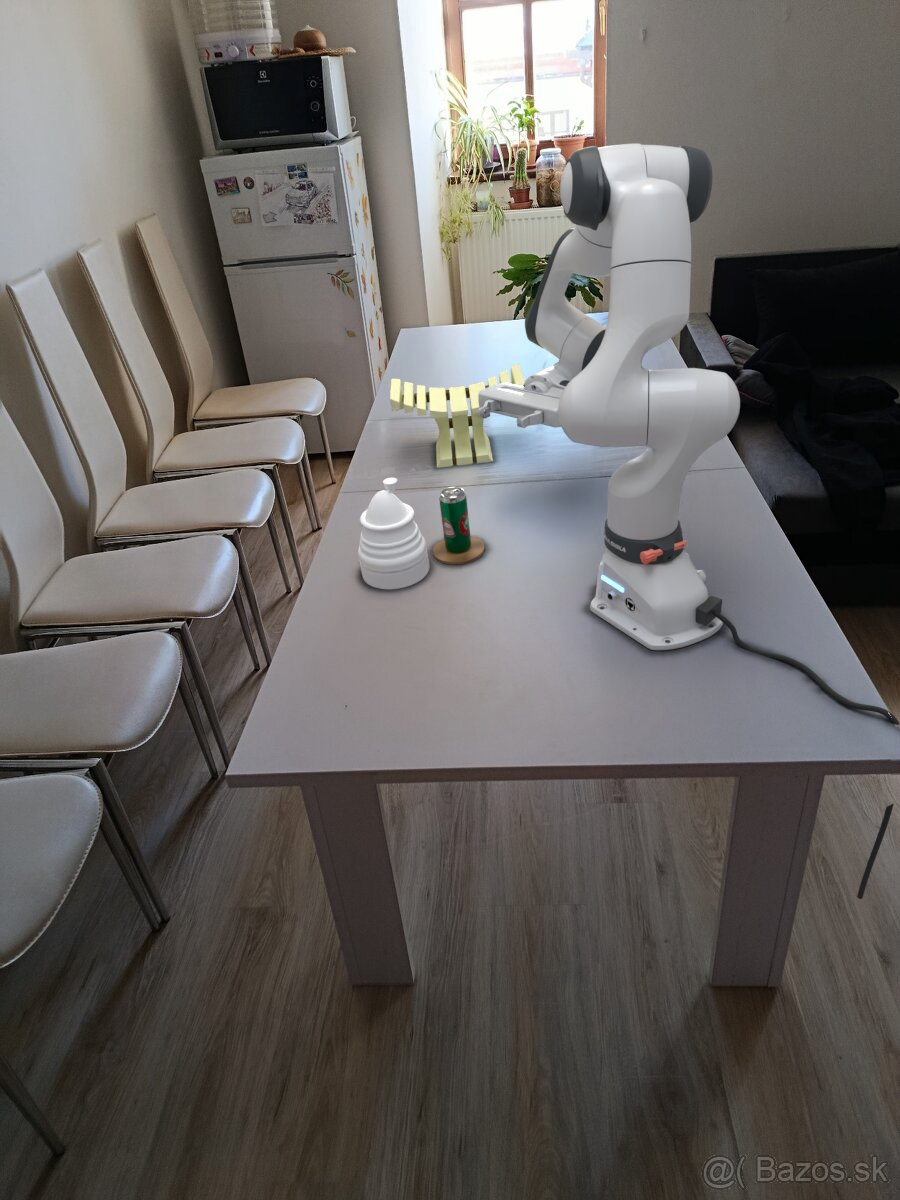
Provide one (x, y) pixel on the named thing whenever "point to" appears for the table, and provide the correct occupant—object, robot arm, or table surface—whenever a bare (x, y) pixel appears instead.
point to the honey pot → (391, 542)
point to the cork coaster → (458, 558)
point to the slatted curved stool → (453, 416)
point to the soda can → (455, 519)
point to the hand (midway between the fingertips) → (500, 418)
